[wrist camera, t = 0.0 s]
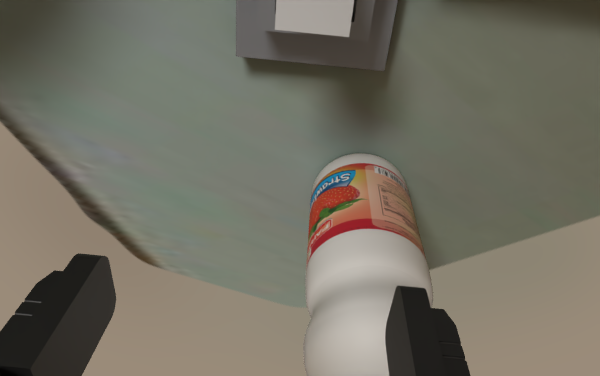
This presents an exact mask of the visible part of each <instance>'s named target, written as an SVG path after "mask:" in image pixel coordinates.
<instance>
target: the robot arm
mask: <svg viewBox="0 0 600 376" xmlns="http://www.w3.org/2000/svg"><path fill="white" fill-rule="evenodd" d="M115 303H116V294H115V289H114V284H113V279H112V274H111V269H110V264H109V260H108V258H107V257H106V256H98V255H89V254H76V255H75V256H74V257H73V258H72V260H71V261H70V263H69V264H68V265H67V267H66V268H65V269H64V271H53V272H52V273H51V274H49V275H48V276H46V277H45V278H44V279H42V280H41V281H39V282H38V283H37V284H36V285H35V286H34V288H33V289H32V290H31V292H30V293H29V294H28V296H27V297H26V298H25V302H22V304H21V305H20V306H19V308H18V309H17V310H16V312H15V315H13V316H12V317H11V318H10V320H9V321H8V322H7V324H6V325H5V326H4V328H3V329H2V330H1V331H0V376H82V374H83V372H84V370H85V368H86V366H87V364H88V362H89V360H90V358H91V356H92V354H93V352H94V351H95V349H96V347H97V345H98V343H99V341H100V339H101V337H102V335H103V333H104V331H105V329H106V327H107V325H108V324H109V322H110V320H111V318H112V315H113V312H114V309H115ZM385 345H386V353H387V362H388V370H389V376H470V373H469V369H468V366H467V362H466V361H465V356H464V352H463V349H462V346H461V342H460V338H459V335H458V331H457V328H456V325H455V324H454V322H453V321H452V320H451V318H450V317H449V316H448V314H447V313H446V312H445V310H443V309H435V308H431V307H430V303H429V299H428V294H427V291H426V289H425V288H419V287H409V286H397V287H396V289H395V293H394V297H393V300H392V304H391V308H390V312H389V315H388V319H387V323H386V331H385Z"/></svg>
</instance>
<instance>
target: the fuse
mask: <svg viewBox="0 0 600 376" xmlns="http://www.w3.org/2000/svg"><path fill="white" fill-rule="evenodd" d="M353 5H354V0H276V17H275V30H283V31H293V32H303V33H313V34H323V35H333V36H343V37H349V34H350V27H351V20H352V12H353Z"/></svg>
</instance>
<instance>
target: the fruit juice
mask: <svg viewBox="0 0 600 376" xmlns="http://www.w3.org/2000/svg"><path fill="white" fill-rule="evenodd" d="M397 286H409V287H419V288H425V289H426V291H427V294H428V299H429V303H430V307H431V308H432V302H433V292H432V283H431V277H430V272H429V268H428V264H427V261H426V258H425V254H424V250H423V246H422V242H421V238H420V234H419V231H418V227H417V223H416V219H415V215H414V211H413V208H412V204H411V200H410V196H409V192H408V189H407V185H406V182H405V180H404V178H403V177H402V175H401V173H400V172H399V171H398V169H397V168H396V167H395V166H394V165H392V164H391V163H390V162H389V161H387V160H385V159H383V158H381V157H379V156H376V155H372V154H365V153H356V154H349V155H345V156H342V157H340V158H337V159H335V160H334V161H332V162H330V163H329V164H328V165H326V166H325V167H324V168H323V169H322V171H321V172H320V173H319V175H318V176H317V178H316V180H315V182H314V185H313V188H312V192H311V204H310V220H309V235H308V251H307V267H306V277H305V290H306V303H307V308H308V311H309V314H310V317H311V320H310V322H309V325H308V327H307V330H306V334H305V338H304V347H303V350H304V365H305V370H306V374H307V376H389V370H388V362H387V353H386V345H385V331H386V323H387V319H388V315H389V312H390V308H391V304H392V300H393V297H394V293H395V289H396V287H397Z"/></svg>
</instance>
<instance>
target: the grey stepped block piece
mask: <svg viewBox="0 0 600 376" xmlns="http://www.w3.org/2000/svg"><path fill="white" fill-rule="evenodd" d="M397 2H398V0H354V5H353V12H352V20H351V27H350V34H349V37H343V36H333V35H323V34H313V33H303V32H293V31H283V30H275V17H276V0H237V1H236V56H238V57H248V58H258V59H268V60H278V61H288V62H298V63H308V64H318V65H328V66H338V67H348V68H357V69H367V70H377V71H385V66H386V60H387V55H388V50H389V44H390V39H391V34H392V28H393V23H394V18H395V13H396V7H397Z"/></svg>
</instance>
